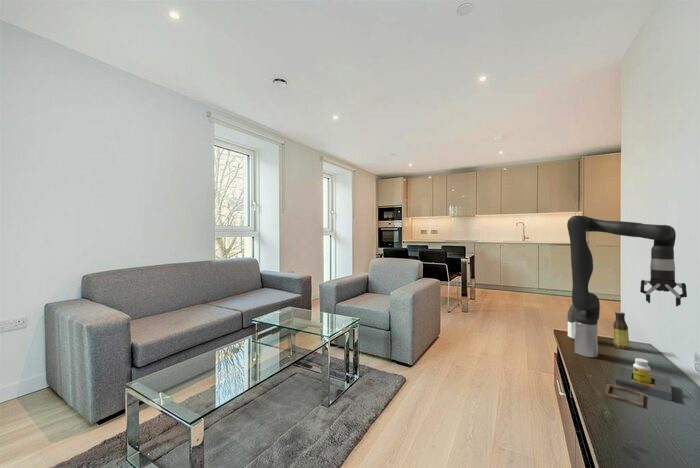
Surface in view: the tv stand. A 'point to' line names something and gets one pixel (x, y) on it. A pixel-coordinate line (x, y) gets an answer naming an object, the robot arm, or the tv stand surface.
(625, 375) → the socket plate
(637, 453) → the tv stand surface
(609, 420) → the tv stand surface
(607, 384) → the cradle
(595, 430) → the tv stand surface
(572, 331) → the wine bottle
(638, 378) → the supplement bottle
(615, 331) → the sauce bottle
